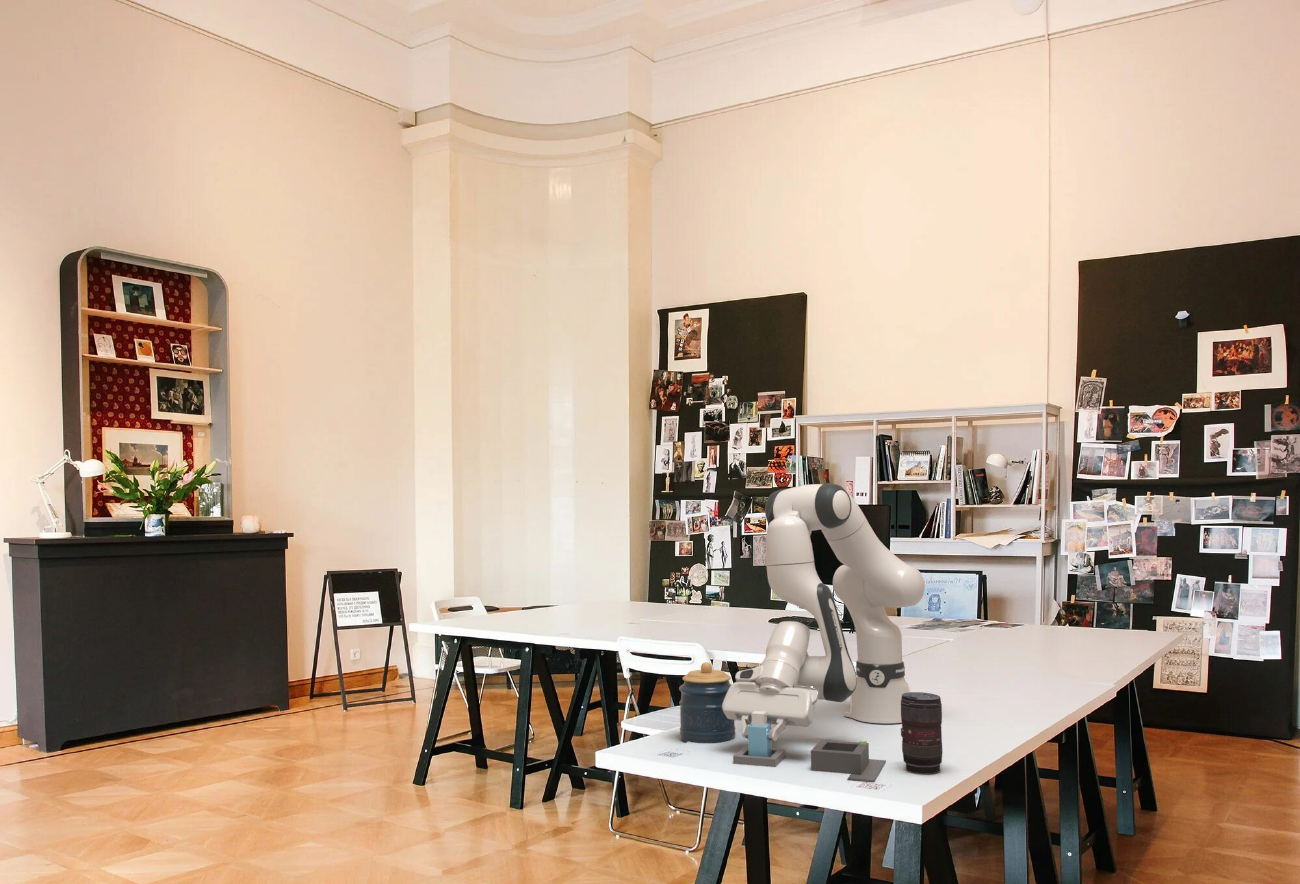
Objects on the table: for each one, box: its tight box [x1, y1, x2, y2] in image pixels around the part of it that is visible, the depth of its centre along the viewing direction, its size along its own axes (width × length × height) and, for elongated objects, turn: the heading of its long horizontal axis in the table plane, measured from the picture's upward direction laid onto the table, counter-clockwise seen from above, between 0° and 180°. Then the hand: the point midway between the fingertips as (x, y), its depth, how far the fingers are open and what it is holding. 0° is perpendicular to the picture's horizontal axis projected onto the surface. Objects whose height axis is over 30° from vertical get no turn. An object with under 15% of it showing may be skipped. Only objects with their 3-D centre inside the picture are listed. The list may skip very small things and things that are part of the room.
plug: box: [747, 711, 773, 757], centre depth 211 cm, size 4×4×10 cm
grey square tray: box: [732, 745, 787, 768], centre depth 210 cm, size 9×9×2 cm
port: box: [810, 739, 887, 783], centre depth 204 cm, size 16×16×5 cm
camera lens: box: [900, 691, 943, 775], centre depth 203 cm, size 8×8×15 cm
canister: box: [678, 662, 736, 744], centre depth 233 cm, size 13×13×18 cm
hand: (758, 737), depth 210 cm, fingers closed on plug, 4 cm apart
